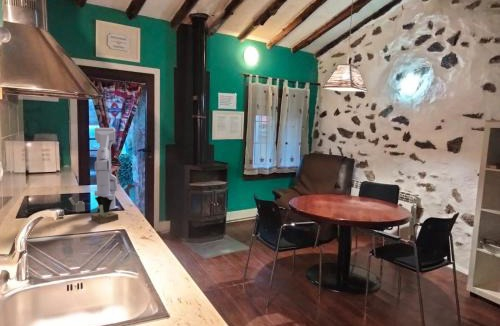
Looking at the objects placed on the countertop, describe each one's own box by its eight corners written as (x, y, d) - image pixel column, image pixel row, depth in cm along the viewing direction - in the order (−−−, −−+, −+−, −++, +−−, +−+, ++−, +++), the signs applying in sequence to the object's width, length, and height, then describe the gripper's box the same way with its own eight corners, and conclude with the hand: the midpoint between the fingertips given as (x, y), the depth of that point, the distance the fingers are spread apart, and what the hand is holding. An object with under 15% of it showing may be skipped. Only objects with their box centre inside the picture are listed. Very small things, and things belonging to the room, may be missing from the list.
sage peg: (100, 216, 163) (99, 205, 162) (105, 215, 165) (105, 203, 164) (103, 218, 161) (102, 206, 160) (108, 216, 163) (108, 204, 163)
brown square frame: (91, 219, 163) (91, 214, 162) (108, 215, 170) (108, 210, 170) (100, 223, 157) (100, 218, 157) (118, 219, 164) (118, 214, 164)
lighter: (84, 210, 179) (83, 195, 178) (85, 210, 178) (84, 196, 176) (69, 212, 174) (68, 197, 173) (70, 213, 173) (69, 198, 172)
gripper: (87, 183, 162) (89, 210, 164) (103, 187, 154) (104, 216, 155) (101, 181, 168) (103, 207, 170) (117, 185, 159) (118, 213, 161)
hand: (104, 211), depth 163 cm, fingers closed on sage peg, 3 cm apart
